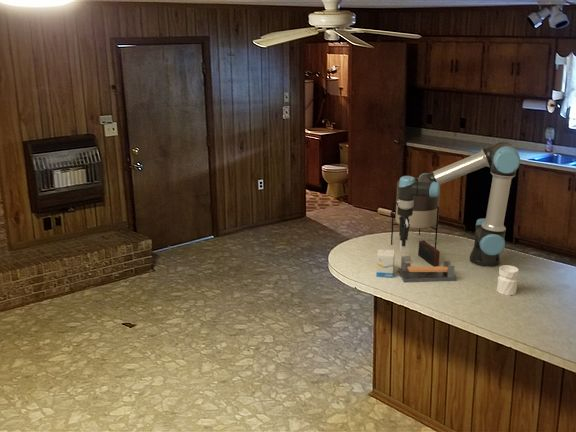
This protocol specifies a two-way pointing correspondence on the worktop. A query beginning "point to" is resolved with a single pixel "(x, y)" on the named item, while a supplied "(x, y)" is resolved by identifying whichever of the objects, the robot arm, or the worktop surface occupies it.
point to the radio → (428, 253)
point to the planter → (420, 213)
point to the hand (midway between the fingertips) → (402, 251)
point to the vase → (507, 279)
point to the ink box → (385, 263)
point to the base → (429, 275)
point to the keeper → (405, 262)
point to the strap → (426, 269)
